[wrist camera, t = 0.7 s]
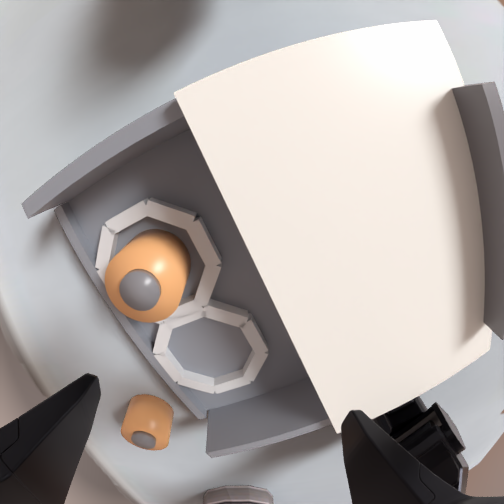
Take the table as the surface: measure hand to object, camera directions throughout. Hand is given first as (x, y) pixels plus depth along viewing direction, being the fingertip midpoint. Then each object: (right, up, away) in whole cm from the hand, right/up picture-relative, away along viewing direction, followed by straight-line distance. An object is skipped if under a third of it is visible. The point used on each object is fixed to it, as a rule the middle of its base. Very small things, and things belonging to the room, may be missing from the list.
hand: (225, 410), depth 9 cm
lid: (+9, +5, +6) cm, 12 cm away
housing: (+3, +5, +13) cm, 14 cm away
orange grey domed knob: (-6, +5, +11) cm, 13 cm away
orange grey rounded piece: (-10, -11, +18) cm, 23 cm away
